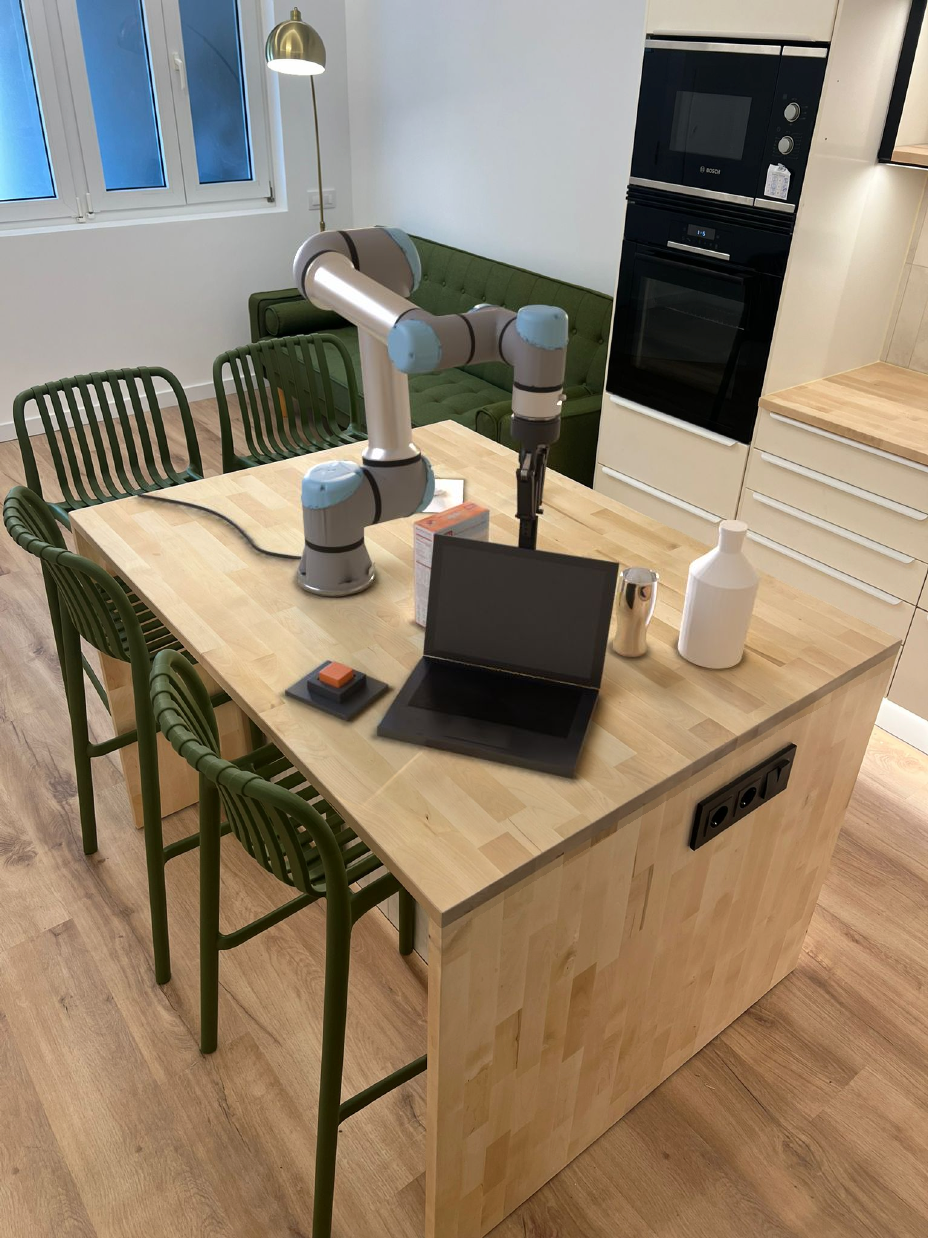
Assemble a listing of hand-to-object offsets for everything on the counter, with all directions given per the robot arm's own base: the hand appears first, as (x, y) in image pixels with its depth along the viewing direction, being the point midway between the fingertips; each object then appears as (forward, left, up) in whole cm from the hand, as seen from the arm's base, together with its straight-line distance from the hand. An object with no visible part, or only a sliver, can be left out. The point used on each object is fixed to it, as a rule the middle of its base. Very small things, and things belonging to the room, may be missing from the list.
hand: (526, 552), depth 155 cm
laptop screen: (0, -4, -9) cm, 10 cm away
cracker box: (-16, +10, -21) cm, 29 cm away
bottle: (+32, +14, -21) cm, 41 cm away
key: (-26, -20, -19) cm, 38 cm away
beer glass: (+18, +10, -21) cm, 30 cm away
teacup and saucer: (-40, +62, -21) cm, 77 cm away
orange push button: (-26, -20, -21) cm, 39 cm away
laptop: (0, -18, -21) cm, 28 cm away
